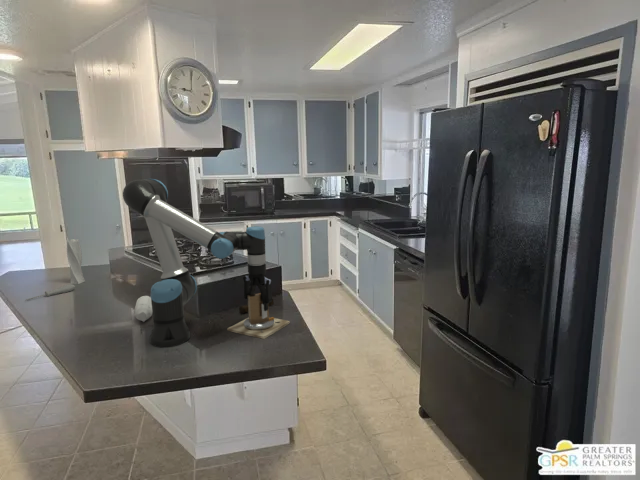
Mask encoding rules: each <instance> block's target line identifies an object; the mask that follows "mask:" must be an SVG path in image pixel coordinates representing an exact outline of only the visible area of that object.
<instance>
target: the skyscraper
mask: <svg viewBox="0 0 640 480" xmlns="http://www.w3.org/2000/svg"><path fill="white" fill-rule="evenodd" d="M82 254H83V253H82V249H81V244H80V241H79V238H77V239H74V238H73V239H69V238H68V236H67V237H66V257H67V262H68V264H69V268H70V284H72V285H74V284H75V285H79V284H82V283H84V282H86V280H85V277H84V274H83V270H82V262H83V261H82V260H83V255H82Z"/></svg>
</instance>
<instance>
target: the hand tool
mask: <svg viewBox="0 0 640 480" xmlns="http://www.w3.org/2000/svg"><path fill="white" fill-rule="evenodd" d="M274 302H275V301H274V298H272V302H269V303H268V306H269V307H271V306H273V305H274ZM238 310H239V311H238V312H239V313H240V314H242V315H244V314H247V313H249V312H248V303H247V304H244V305H239V307H238Z"/></svg>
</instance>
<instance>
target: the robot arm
mask: <svg viewBox="0 0 640 480" xmlns="http://www.w3.org/2000/svg"><path fill="white" fill-rule="evenodd" d="M168 198H169V191H168V189H167V186H166V185H165V184H164V183H163V182H162V181H161V180H158V179H155V178H145V179H144V178H143V179H142V178H141V179H134V180H131V181H130V182H128V183H127V184H126V185H125V186H124V188H123V190H122V199H123V201H124V203H125V205H126V206H128V208H130V209H131V210H132V211H134V212H136V213H138V214H139V216H140V217H142V218H144V220H145V222H146V225H147V228H148V231H149V234H150V237H151V241H152V244H153V246H154V250H155V253H156V255H157V258H158V263H159V264H160V268H161V271H162V274H161V276H160V279H161V281H157V282H155V283H154V284H152V285H151V288H150V296H149V297H151V303H152V321H153V322H152V323H153V325H152V329H151V334H150V336H149V343H150V344H151V345H152V346H154V347H159V348H166V347H167V348H168V347H169V348H170V347H175V346H179V345H182V344H185V343H186V342H187V341H189V340H190V338H191V333H190V329H189V327H188V325H187V323H186V321H185V314H184V313H185V312H184V306H185V305H186V304H187V303H188V302H190V301H191V300H192V299H193V298H194V296H195V294H196V293H197V290H198V284H197V281H196V278H195V277H194V276H193V275H191V274H190V273H191V272H190V271H189V269H188V268H187V267H185V266H184V264H183V261H182V257H181V255H180V251H179V248H178V245H177V242H176V239H175V236H174V232H173V231H175V232H177V233H179V234H180V235H183V236H184V237H185V238H188V239H189V240H192V241H193V242H195V243H197V244H198V245H201V246H202V247H204V248H206V249H207V250H210V252H211V254H212V256H213V257H215V258H216V259H219V260H220V259H221V260H222V259H226V258H228V257H230V256H231V255H232V254H233V252H235V251H238V250H239V251H246V255H247V260H246V261H247V273H248V275H245V276H243V277H242V279H243V282H244V283H243V288H244V289H243V291H244V292H243V296H244V297H243V299H245V300H247V301H248V295H251V294H256V293H255V292H256V288H258V289H259V293H261V297H262V301H263V303H262V319H264V318H266V317H267V310H268V303H269V302H272V299H273V293H272V283H273V280H272V278H267V276H266V273H267V264H266V262H267V261H266V259H267V258H266V235H265V233H266V232H265V228H264V227H263V226H248V227H246V229H245V231H220V232H218V231H217V230H215V229H213V228H212V227H210V226H208V225H207V224H205V223H203V222H201V221H199V220H198V219H196V218H194V217H193V216H191V215H188V214H186V213H185V212H183V211H182V210H180V209H178V208H176V207H175V206H173V205H171V204H169V203H168V201H167V200H168Z"/></svg>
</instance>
